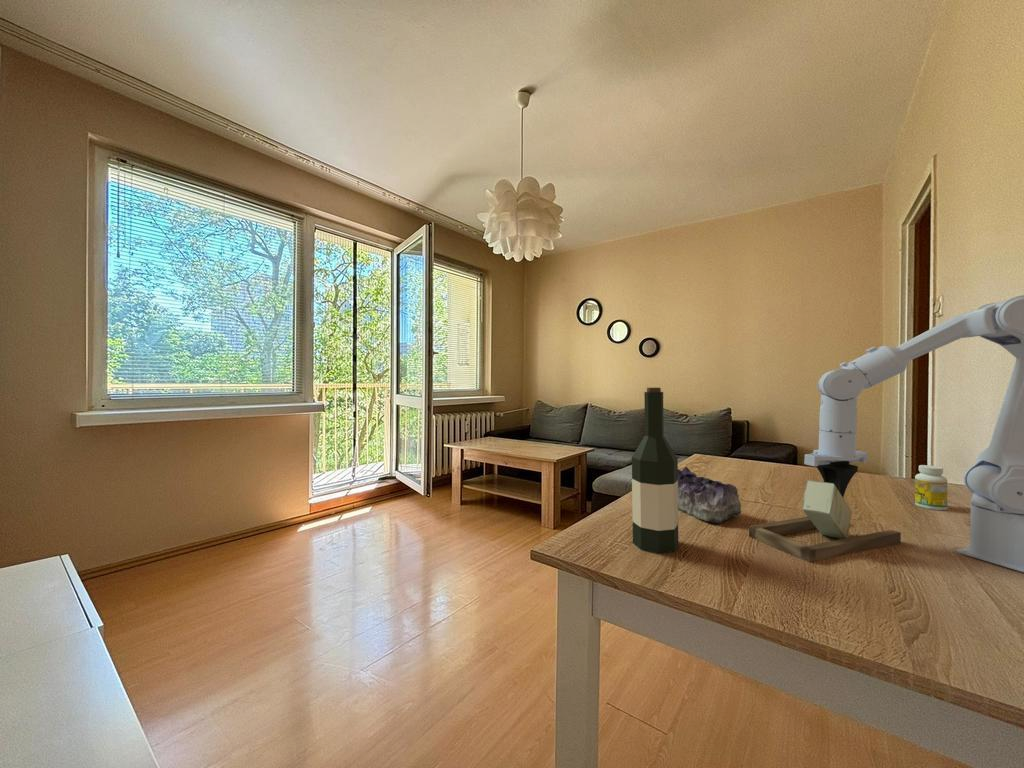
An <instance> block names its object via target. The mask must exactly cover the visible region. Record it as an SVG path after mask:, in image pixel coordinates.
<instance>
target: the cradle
mask: <svg viewBox="0 0 1024 768" xmlns="http://www.w3.org/2000/svg"><path fill="white" fill-rule="evenodd" d="M815 529H817V528H816V527H815V525H814V524H813V523H812V521H811V520H810V519H809V517H808V516H804V517H803V516H802V517H797V518H792V519H791V518H790V519H785V520H778V521H772V522H766V523H761V524H754V525H749V526H748V536H749V537H750V538H752V539H755V540H757V541H759V542H761V543H763V544H766V545H769V546H771V547H773V548H775V549H778V550H780V551H781V552H782V551H783V552H785V553H787V554H790V555H792V556H794V557H796V558H799V559H800V560H803V561H806V562H808V563H811V562H817V561H822V560H826V559H831V558H834V557H835V558H836V557H840V556H845V555H850V554H851V555H852V554H855V553H861V552H864V551H869V550H873V549H878V548H883V547H888V546H893V545H897V544H901V542H902V540H901V539H902V532H900V531H897V530H894V529H887V530H882V531H877V532H876V531H875V532H872V533H868V534H866V533H865V534H862V535H857V536H856V535H855V536H851V537H848V538H845V539H835V540H831V541H826V542H821V543H816V544H815V543H814V544H810V545H805V544H803V543H801V542H799V541H795V540H793V539H790V538H788V537H785V536H783V535H787V534H792V533H798V532H803V531H808V530H815Z"/></svg>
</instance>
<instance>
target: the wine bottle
mask: <svg viewBox="0 0 1024 768" xmlns="http://www.w3.org/2000/svg"><path fill="white" fill-rule="evenodd" d="M643 394H644V436H643V438H642V439H641V441H640V442H639V444H638V445H637V446H638V447H637V448H636V450H635V451H634V453H633V455H632V456H631V494H632V495H631V496H632V497H631V501H632V502H631V503H632V507H631V508H632V509H631V510H632V513H631V514H632V544H634V545H635V546H636V547H637V548H639V549H640V550H642V551H645V552H649V553H655V554H666V553H667V554H668V553H674V552H676V550H677V549H678V548H679V508H678V469H679V468H678V467H679V464H678V463H679V460H678V456H677V455H676V453H675V452H674V450H673V448H672V447H671V445H670V444H669V442H668V441H667V439H666V437H665V435H664V432H665V431H664V422H665V421H664V391H662V389H661V387H646V391H643Z"/></svg>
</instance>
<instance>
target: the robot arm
mask: <svg viewBox="0 0 1024 768" xmlns="http://www.w3.org/2000/svg"><path fill="white" fill-rule="evenodd" d="M975 337H980V338H982V339H984V340H988V341H990V342H992V343H994V344H997V345H999V346H1001V347H1002V348H1003V349H1005V350H1006V351H1007V352H1008V353H1009V354H1010V355H1012V356H1013V357H1014V358H1015V363H1014V367H1013V369H1012V373H1011V375H1010V379H1009V382H1008V385H1007V389H1006V392H1005V395H1004V398H1003V402H1002V405H1001V408H1000V410H999V414H998V418H997V420H996V424H995V427H994V430H993V433H992V436H991V440H990V444H989V445H988V447H987V448H986V449H985V450H983V451H982V452H980V453H978V455H977V458H976V461H975V462H974V464H973V465H971V466H970V467H968V468H967V470H966V471H965V473H964V474H963V483H964V485H965V487H966V488H967V489H968V490H969V491H970V492H971V493H972V497H971V498H970V519H969V520H970V521H969V523H970V527H969V528H970V530H969V532H970V540H969V543H970V544H969V545H970V546H967V547H964V548H959V549H957V553H958V554H961V555H964V556H968V557H971V558H975V559H979V560H982V561H985V562H988V563H991V564H993V565H998V566H1001V567H1004V568H1008V569H1011V570H1015V571H1018V572H1021V573H1024V294H1022V295H1016V296H1014V297H1011V298H1009V299H1005V300H1002V301H998V302H992V303H988V304H987V303H986V304H984V305H981V306H979V307H978V308H976V309H971V310H969V311H966V312H963V313H961V314H957V315H955V316H953V317H950V318H949V319H947V320H945V321H943V322H941V323H939V324H938V325H935V326H934V327H932V328H930V329H928V330H926V331H924V332H922V333H921V334H919V335H917V336H914V337H913V338H911V339H909V340H907V341H905V342H903V343H901V344H899V345H898V346H895V347H894V346H888V345H881V346H879V347H877V346H871V347H870V348H867V349H866V350H865V351H866V353H865V354H862V355H861V356H859V357H857V358H855V359H853V360H851V361H849V362H847V361H844V362H843V361H842V363H839V367H840V368H838V369H833V370H828V371H827V372H825V373H824V374H823V375H821V377H820V378H819V380H818V383H817V384H816V385H817V386H816V388H817V390H818V392H819V393H820V395H821V396H820V407H819V419H818V420H819V422H818V423H819V425H818V426H819V427H818V428H819V429H818V430H819V431H818V448H817V449H813V452H811V453H806V454H804V461H803V463H804V465H806V466H811V467H816V469H817V470H818V471H819V473H820V476H821V477H822V479H823V480H822V481H823V482H827V483H833V484H834V485H835V486H836V488H837V489H838V491H839V492H840V494H841V496H842V497H843V498H844V496H845V493H846V490H847V488H848V485H849V484H850V482H851V479H852V478H853V477H854V475H856V473H858V470H859V469H858V468H859V466H858V465H854V464H851V463H860V462H861V463H868V455H869V454H868V452H865V451H859V450H857V430H858V428H857V425H858V423H857V422H858V408H857V405H858V403H857V402H858V396H860V395H861V393H863V390H864V389H867V390H868V389H869V388H872V387H874V386H877V385H879V384H881V383H883V382H885V381H887V380H890V379H891V378H893V377H895V376H897V375H900V374H902V373H904V372H905V371H906V370H907V367H908V364H909V362H910V361H913V360H915V359H917V358H919V357H921V356H924V355H926V354H928V353H930V352H932V351H935V350H937V349H939V348H943V347H944V346H946V345H949V344H951V343H953V342H956V341H958V340H960V339H966V338H967V339H968V338H975Z"/></svg>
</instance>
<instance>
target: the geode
mask: <svg viewBox="0 0 1024 768" xmlns="http://www.w3.org/2000/svg"><path fill="white" fill-rule="evenodd" d="M738 491H739V490H738V488H737V486H736V485H733V484H732V483H722V482H721V481H719V480H713V479H710V478H709V477H704V476H697V474H696V473H695V472H692V471H691V470H690V469H689V468H688V466H685V467H684V468H683V469H682V470H680V469H679V468H678V510H680V511H682V512H684V513H686V514H687V515H689V516H691V517H694V518H697V519H699V520H703V521H705V522H709V523H710V522H712V523H713V524H715V525H716V524H717V525H719V524H721V523H723V522H725V521H727V520H728V519H730V518H733V517H737V516H739V515H741V512H742V511H741V507H742V504H741V500H740V495H739V493H738Z"/></svg>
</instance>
